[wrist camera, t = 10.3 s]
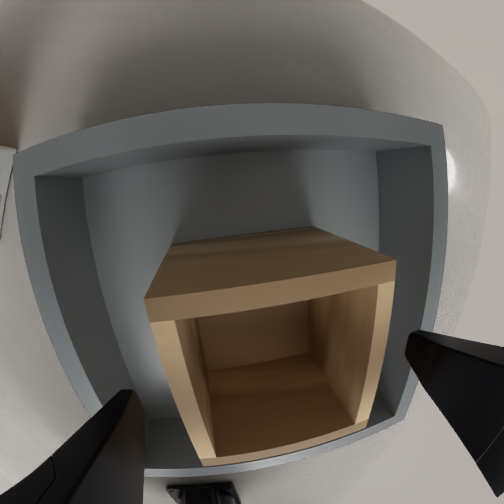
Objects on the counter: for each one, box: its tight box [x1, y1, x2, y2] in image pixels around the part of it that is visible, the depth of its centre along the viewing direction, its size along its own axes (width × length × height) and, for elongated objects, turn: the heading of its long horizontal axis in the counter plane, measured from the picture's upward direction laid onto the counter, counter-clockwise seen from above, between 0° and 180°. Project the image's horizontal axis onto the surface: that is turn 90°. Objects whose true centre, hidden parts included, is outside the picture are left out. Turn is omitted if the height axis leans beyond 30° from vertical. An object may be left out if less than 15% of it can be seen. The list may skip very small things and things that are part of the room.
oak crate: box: [144, 226, 396, 466], centre depth 10 cm, size 7×6×6 cm
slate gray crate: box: [13, 103, 448, 477], centre depth 11 cm, size 16×16×5 cm
